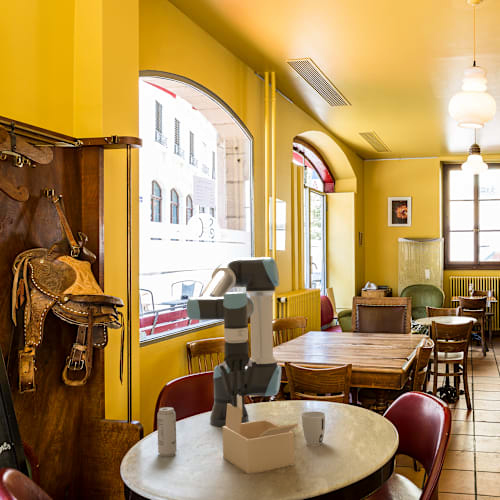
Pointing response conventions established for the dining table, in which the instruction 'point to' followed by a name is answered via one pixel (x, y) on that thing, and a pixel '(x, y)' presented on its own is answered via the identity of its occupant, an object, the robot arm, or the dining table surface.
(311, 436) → the cup
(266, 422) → the carton
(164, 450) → the energy drink can
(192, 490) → the dining table surface
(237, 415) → the side flap
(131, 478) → the dining table surface
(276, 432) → the front flap
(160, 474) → the dining table surface
